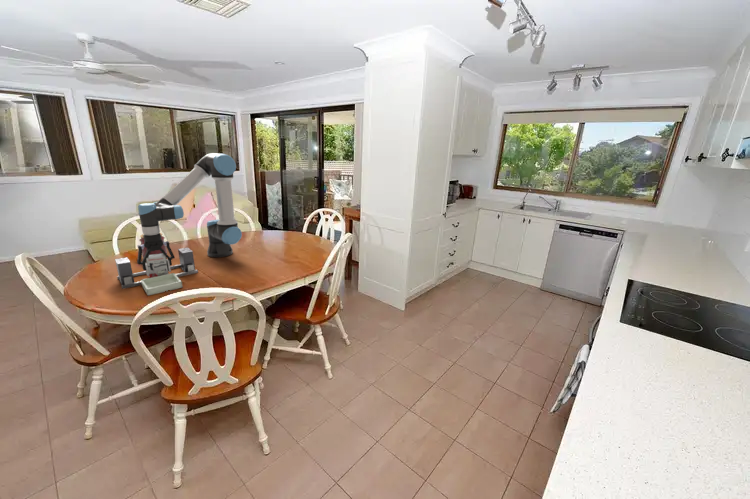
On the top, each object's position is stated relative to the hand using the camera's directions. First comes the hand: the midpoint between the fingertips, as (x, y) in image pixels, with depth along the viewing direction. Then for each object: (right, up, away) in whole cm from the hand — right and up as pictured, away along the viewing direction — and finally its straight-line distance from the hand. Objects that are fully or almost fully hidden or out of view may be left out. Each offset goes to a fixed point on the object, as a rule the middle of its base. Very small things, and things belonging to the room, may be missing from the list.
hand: (158, 273), depth 168 cm
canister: (-22, +8, +28) cm, 36 cm away
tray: (+10, -6, -12) cm, 16 cm away
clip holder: (0, -1, 0) cm, 1 cm away
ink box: (0, -2, +1) cm, 2 cm away
